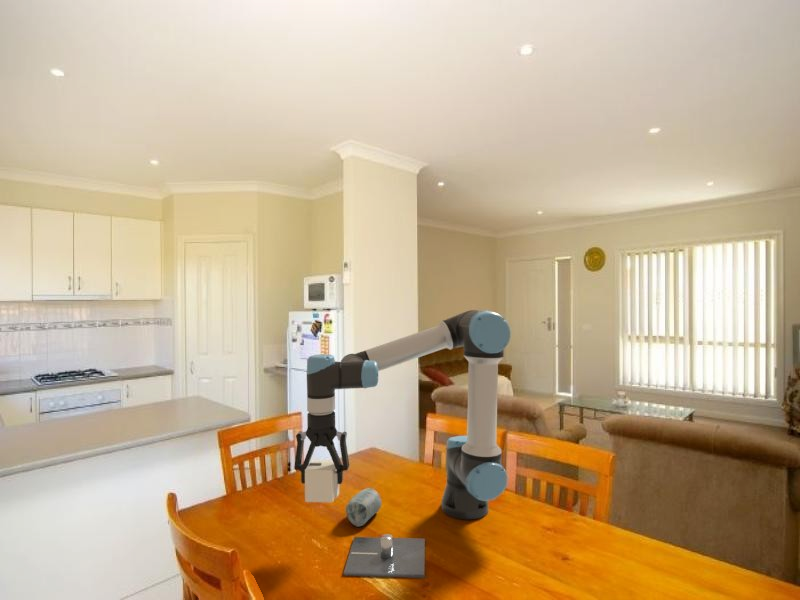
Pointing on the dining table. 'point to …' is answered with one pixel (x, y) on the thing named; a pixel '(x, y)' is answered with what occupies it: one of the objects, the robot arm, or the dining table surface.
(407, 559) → the gray board
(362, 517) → the spool
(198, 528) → the dining table surface
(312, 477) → the white drawer box
